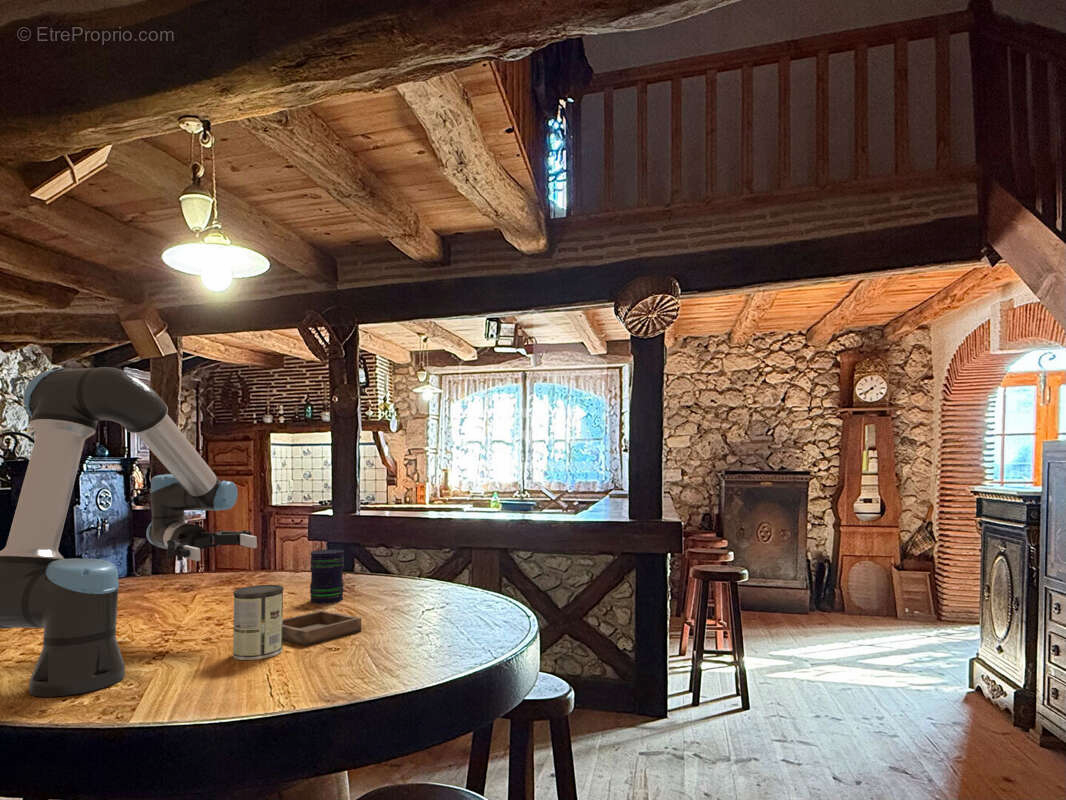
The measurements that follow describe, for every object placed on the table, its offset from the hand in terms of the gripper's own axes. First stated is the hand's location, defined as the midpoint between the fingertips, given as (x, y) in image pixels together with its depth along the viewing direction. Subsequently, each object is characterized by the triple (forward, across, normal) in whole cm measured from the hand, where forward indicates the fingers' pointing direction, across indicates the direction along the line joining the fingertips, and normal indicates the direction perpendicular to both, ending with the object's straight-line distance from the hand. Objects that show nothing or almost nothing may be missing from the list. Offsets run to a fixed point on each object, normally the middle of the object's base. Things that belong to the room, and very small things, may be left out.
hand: (228, 548), depth 152 cm
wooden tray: (+9, -16, -23) cm, 30 cm away
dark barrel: (-22, -41, -28) cm, 55 cm away
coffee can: (+13, +1, -22) cm, 26 cm away
